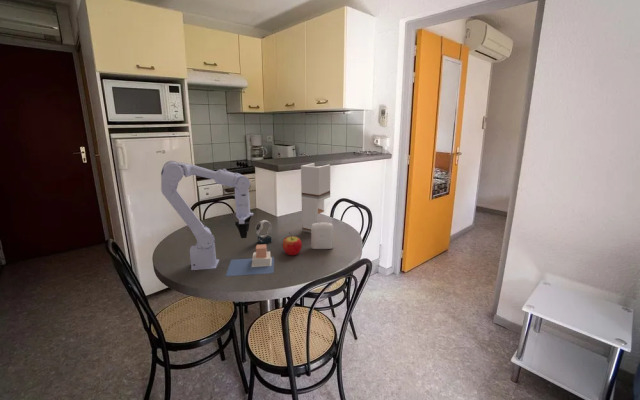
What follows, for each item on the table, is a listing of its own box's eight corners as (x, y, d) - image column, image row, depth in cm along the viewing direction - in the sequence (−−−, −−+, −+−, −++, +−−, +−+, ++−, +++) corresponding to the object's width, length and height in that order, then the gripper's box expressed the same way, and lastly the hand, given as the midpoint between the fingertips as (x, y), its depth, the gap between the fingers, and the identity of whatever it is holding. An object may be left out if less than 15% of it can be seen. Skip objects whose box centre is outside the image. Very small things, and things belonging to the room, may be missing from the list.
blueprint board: (225, 277, 114) (225, 276, 114) (231, 260, 127) (231, 259, 127) (273, 274, 116) (273, 272, 116) (274, 258, 130) (274, 256, 130)
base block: (252, 266, 121) (252, 259, 121) (254, 258, 128) (253, 252, 127) (270, 265, 122) (269, 258, 121) (270, 257, 129) (270, 251, 128)
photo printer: (311, 249, 138) (310, 224, 135) (311, 245, 142) (311, 221, 139) (333, 249, 138) (333, 224, 135) (333, 245, 142) (333, 221, 139)
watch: (254, 242, 146) (252, 221, 143) (269, 238, 151) (268, 217, 148) (259, 246, 142) (258, 224, 139) (274, 242, 147) (273, 220, 144)
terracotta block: (256, 257, 122) (255, 248, 121) (257, 253, 126) (256, 244, 125) (266, 257, 123) (265, 248, 122) (266, 253, 126) (266, 244, 125)
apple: (292, 248, 139) (291, 228, 137) (306, 253, 134) (305, 232, 131) (279, 254, 133) (278, 233, 130) (292, 260, 128) (292, 238, 125)
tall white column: (319, 234, 156) (318, 167, 147) (302, 231, 161) (300, 165, 152) (330, 228, 165) (330, 164, 156) (313, 224, 170) (313, 163, 161)
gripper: (250, 208, 118) (253, 240, 122) (253, 198, 132) (255, 228, 136) (232, 209, 118) (235, 241, 121) (237, 199, 131) (239, 228, 135)
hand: (244, 234), depth 128 cm, fingers open, 7 cm apart
